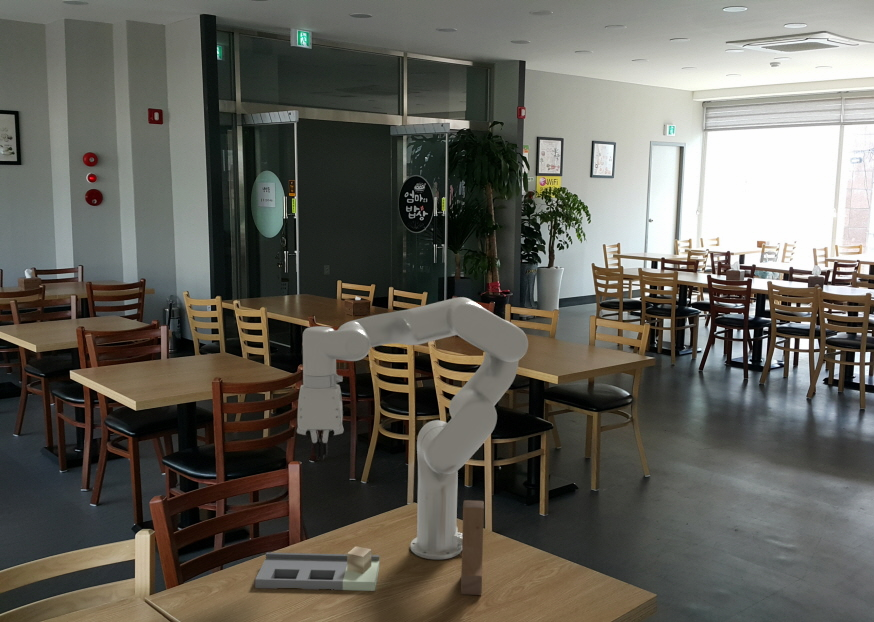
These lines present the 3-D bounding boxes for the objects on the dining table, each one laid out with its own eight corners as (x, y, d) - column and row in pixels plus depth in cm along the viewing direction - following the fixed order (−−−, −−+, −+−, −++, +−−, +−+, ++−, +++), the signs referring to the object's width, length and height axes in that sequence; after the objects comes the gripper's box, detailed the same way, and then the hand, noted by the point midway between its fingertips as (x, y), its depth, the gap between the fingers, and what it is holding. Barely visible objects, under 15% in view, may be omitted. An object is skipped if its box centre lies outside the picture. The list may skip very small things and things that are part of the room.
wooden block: (481, 595, 171) (483, 516, 169) (460, 595, 172) (462, 515, 169) (481, 576, 180) (483, 500, 178) (461, 575, 181) (463, 499, 178)
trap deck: (379, 567, 184) (379, 555, 183) (374, 590, 173) (375, 577, 172) (266, 564, 184) (266, 552, 183) (255, 587, 173) (255, 574, 173)
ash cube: (371, 566, 180) (371, 549, 179) (363, 573, 176) (363, 556, 176) (355, 562, 181) (355, 546, 181) (347, 570, 178) (347, 553, 177)
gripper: (353, 377, 187) (353, 452, 189) (289, 377, 186) (290, 452, 189) (351, 384, 179) (351, 463, 182) (284, 384, 179) (285, 463, 181)
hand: (320, 457), depth 185 cm, fingers closed
